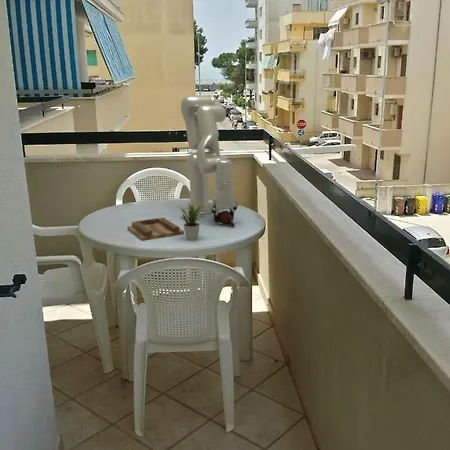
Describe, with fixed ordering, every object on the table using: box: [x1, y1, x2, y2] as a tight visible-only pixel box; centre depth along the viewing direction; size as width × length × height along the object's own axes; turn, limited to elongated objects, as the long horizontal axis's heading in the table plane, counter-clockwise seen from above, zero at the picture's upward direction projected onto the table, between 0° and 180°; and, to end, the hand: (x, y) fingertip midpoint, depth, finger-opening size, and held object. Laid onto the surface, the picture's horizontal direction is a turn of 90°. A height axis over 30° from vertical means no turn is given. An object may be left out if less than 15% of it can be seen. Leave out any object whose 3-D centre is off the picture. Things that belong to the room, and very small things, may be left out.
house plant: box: [178, 203, 206, 240], centre depth 223 cm, size 14×14×16 cm
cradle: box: [127, 217, 185, 242], centre depth 234 cm, size 20×20×4 cm
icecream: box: [218, 210, 236, 227], centre depth 246 cm, size 7×7×15 cm
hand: (223, 221), depth 247 cm, fingers closed on icecream, 7 cm apart
